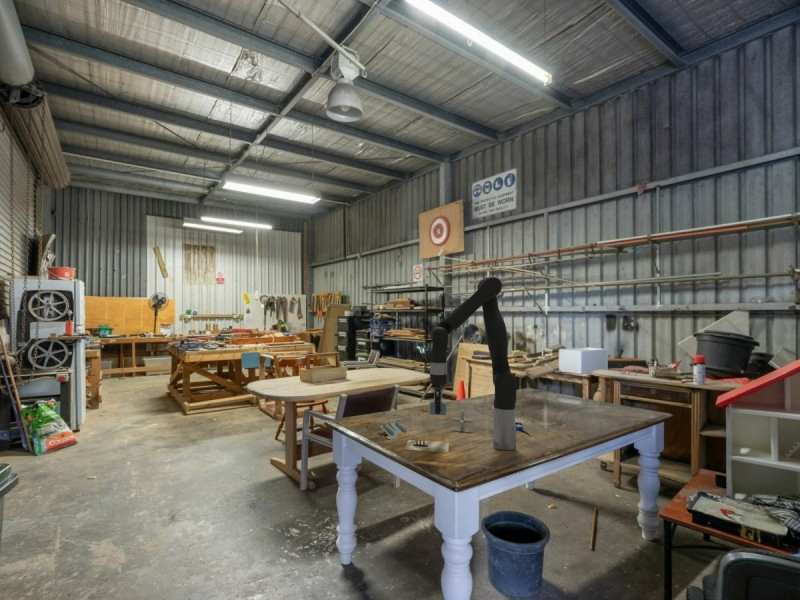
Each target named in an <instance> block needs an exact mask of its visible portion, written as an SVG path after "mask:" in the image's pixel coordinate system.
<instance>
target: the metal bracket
mask: <svg viewBox="0 0 800 600" xmlns="http://www.w3.org/2000/svg"><path fill="white" fill-rule="evenodd" d="M379 427H380V429H382V431H383V432H385V434H387V436H385V437H386V439H394V440H396V439H397V437H398V435H399V434H400V433H407V429H406V427H405V426H404V425H402V424H400V423H399V421H397V420H395V422H393V423H390V421H387V424H386V423H385V422H384V423H383V424H382V425H379ZM395 438H396V439H395Z"/></svg>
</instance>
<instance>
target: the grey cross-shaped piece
mask: <svg viewBox="0 0 800 600" xmlns="http://www.w3.org/2000/svg"><path fill="white" fill-rule="evenodd" d="M451 421H452V422H456V423H458V425H459V426H460V432H465V424H473V423H474V420H473V419H468V418H466V417H465V410H460V418H457V417H456V418H455V417H452V420H451Z"/></svg>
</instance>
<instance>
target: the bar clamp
mask: <svg viewBox="0 0 800 600" xmlns="http://www.w3.org/2000/svg"><path fill="white" fill-rule="evenodd" d="M515 427H516V430H521V431H520V432H523V433H525V434H527V433H526V432H527V431H526V430H524V429H523V428H524V426H523V423H522V422H517V421H515Z"/></svg>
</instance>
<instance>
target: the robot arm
mask: <svg viewBox="0 0 800 600" xmlns="http://www.w3.org/2000/svg"><path fill="white" fill-rule="evenodd" d="M502 288H503V285H502V281H501V280H500V278H498V277H496V276H487V277H485V278H482V279H481V280H480V281H479V282H478V284H477V290H476V291H475V292H474V293H473V294H472V295H471V296H470V297H468V299H466V300H465V301H463V302H462V303H460V304H459V305H458V306H457V307H456V308H454V310H452V311H451V312H450V313H449V314H448V315H447V316H446V317H445V318H444V319H443V320H441V321H440V322H438V324H436V325H435V326H433V328H432V329H431V330H430V332H429V338H430V340H431V341H432V344H431V345H432V346H431V347H432V348H431V351H430V365H429V384H430V385H432V386H433V385H434V386H435V387H433V399H434V401H435V402H434V403H435V413H436V414H440V413H441V401H443V395H444V394H443V393H444V388H443V386H445V385H447V384H448V363H447V362H448V355H447V351H448V345H449V335H450V334H451V333H452V332H453V331H455V330H457V329H459V328H460V327H461V326H462V325H463V324H464V323H465V322H466V321H467V320H468V319H469V318H470V317H471V316H472V315H473V314H475V312H476V311H478V310H479V309H480V308H482V315H483V317H482V318H483V324H484V331H485V332H484V333H485V337H486V339H485V340H486V342H487V347H488V352H489V355H490V359H491V368H492V384H493V386H494V399H493V425H492V426H493V433H492V434H493V435H492V436H493V439H492V441H493V442H492V443H493V448H494V449H496V450H501V451H513V450H514V451H516V450H517V431H516V427H515V422H516V404H517V379H516V377H515V375H514V374H512V371H511V367H510V363H509V358H508V356H509V355H508V352H509V336H508V331H507V327H506V322H505V320H504V317H503V316H502V314H501V311H500V309H499V304H498V303H499V302H498V295H499V294H500V293H501V291H502ZM437 401H439V402H437Z"/></svg>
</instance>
